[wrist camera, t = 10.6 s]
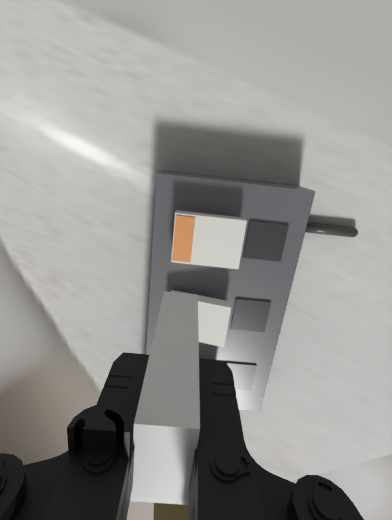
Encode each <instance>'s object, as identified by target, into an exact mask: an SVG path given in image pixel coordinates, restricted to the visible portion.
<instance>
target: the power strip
mask: <svg viewBox="0 0 392 520" xmlns="http://www.w3.org/2000/svg"><path fill="white" fill-rule="evenodd" d="M314 194H315V191H313V190H310V189H306V188H303V187H300V186H292V185H283V184H275V183H266V182H257V181H248V180H239V179H231V178H222V177H213V176H204V175H195V174H187V173H178V172H169V171H160V172H158V173H156V190H155V207H154V224H153V241H152V259H151V276H150V293H149V310H148V327H147V345H146V355H150V351H151V347H152V342H153V338H154V333H155V329H156V325H157V320H158V316H159V312H160V307H161V303H162V298H163V294H164V291H166V292H171V290H174V291H180V292H185V293H190V294H196V295H200V296H205V297H210V298H215V299H221V300H226V301H231V302H232V306H231V311H230V317H229V323H228V329H227V334H226V340H225V346H224V347H220V346H215V345H210V344H206V343H201V342H199V358H202V359H213V360H224V361H225V362H226V363H227V365H228V366H229V367H230V369H231V370H232V372H233V378H234V384H235V385H234V387H235V390H236V398H237V402H238V408H239V409H240V410H253V411H260V409H261V405H262V401H263V397H264V393H265V389H266V385H267V381H268V377H269V373H270V369H271V365H272V361H273V357H274V353H275V349H276V345H277V341H278V337H279V333H280V330H281V326H282V322H283V318H284V314H285V310H286V306H287V302H288V298H289V294H290V290H291V286H292V282H293V278H294V274H295V270H296V266H297V262H298V258H299V254H300V250H301V246H302V242H303V238H304V234H305V232H308V233H318V234H327V235H337V236H346V237H355V236H356V235H357V234H358V230H357V229H356V228H352V227H343V226H333V225H324V224H315V223H307V222H308V218H309V214H310V210H311V206H312V202H313V198H314ZM176 210H180V211H189V212H198V213H207V214H216V215H225V216H234V217H243V218H245V219H246V220H247V224H246V229H245V235H244V241H243V246H242V252H241V258H240V264H239V269H230V268H221V267H212V266H202V265H193V264H183V263H174V262H171V257H172V245H173V233H174V221H175V212H176Z"/></svg>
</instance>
